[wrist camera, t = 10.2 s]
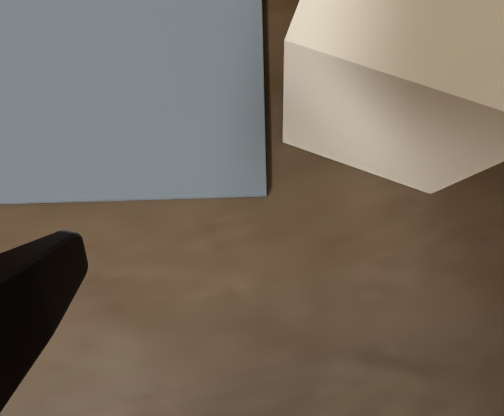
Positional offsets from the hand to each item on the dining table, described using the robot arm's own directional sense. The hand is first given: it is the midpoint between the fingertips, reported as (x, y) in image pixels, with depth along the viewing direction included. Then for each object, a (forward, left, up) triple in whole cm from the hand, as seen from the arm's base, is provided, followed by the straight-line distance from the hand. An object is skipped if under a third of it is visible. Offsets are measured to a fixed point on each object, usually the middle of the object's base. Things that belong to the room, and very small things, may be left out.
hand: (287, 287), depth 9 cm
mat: (+13, -1, -12) cm, 18 cm away
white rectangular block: (+3, -9, -12) cm, 16 cm away
